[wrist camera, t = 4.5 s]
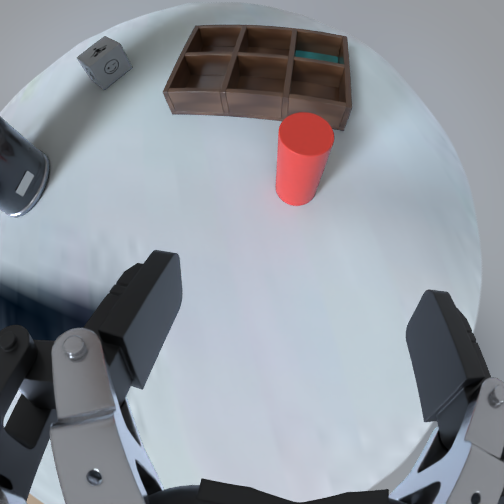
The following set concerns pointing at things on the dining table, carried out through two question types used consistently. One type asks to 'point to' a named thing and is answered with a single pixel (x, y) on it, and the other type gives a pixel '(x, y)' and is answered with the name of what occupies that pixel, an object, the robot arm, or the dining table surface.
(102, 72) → the dice cube
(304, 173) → the red cylinder
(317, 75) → the grid
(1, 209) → the robot arm
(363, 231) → the dining table surface
